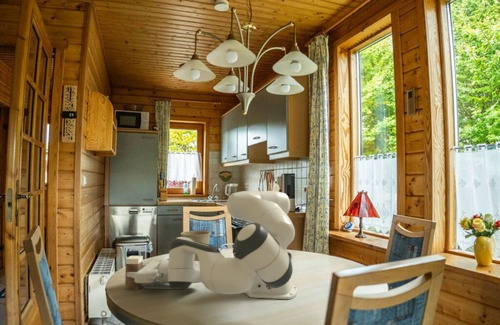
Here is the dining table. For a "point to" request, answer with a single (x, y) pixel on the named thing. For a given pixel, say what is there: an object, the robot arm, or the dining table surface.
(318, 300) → the dining table surface
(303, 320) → the dining table surface
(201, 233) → the plant pot
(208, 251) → the robot arm
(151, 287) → the grey mat
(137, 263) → the walnut block
